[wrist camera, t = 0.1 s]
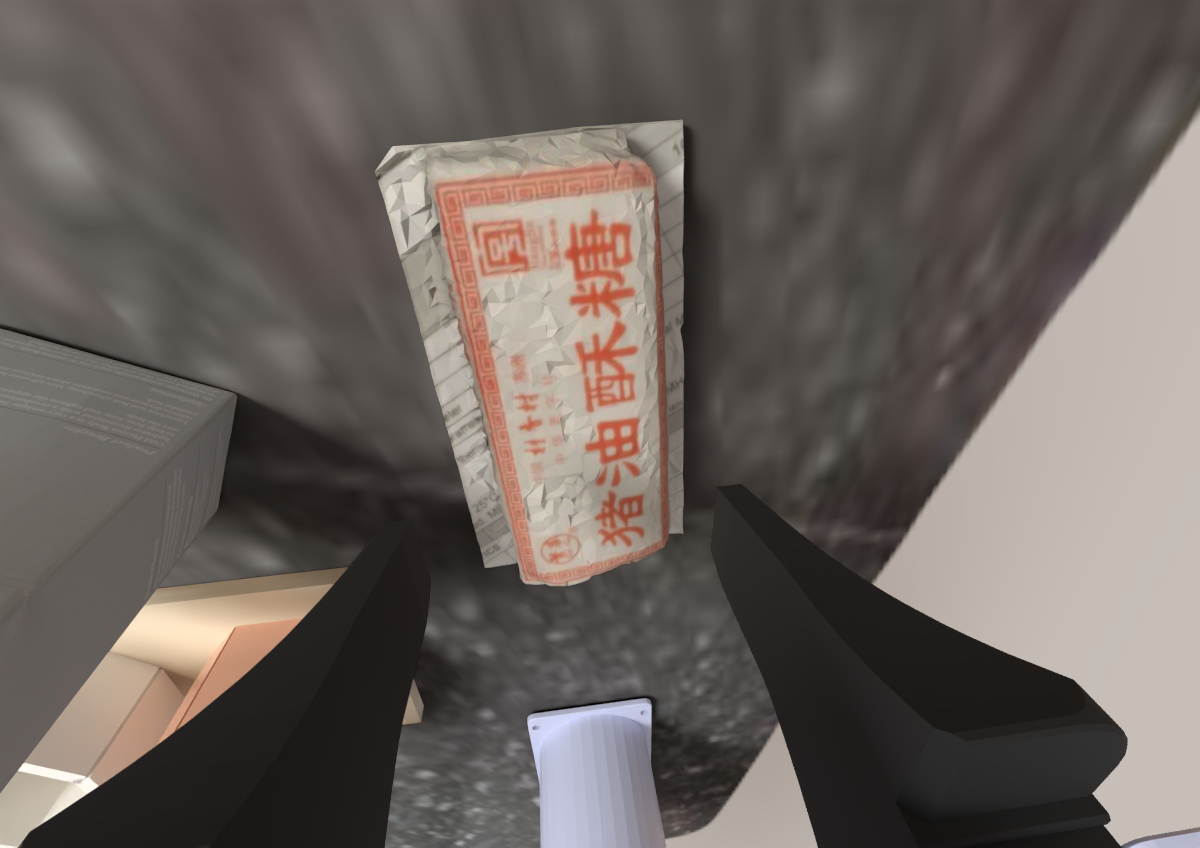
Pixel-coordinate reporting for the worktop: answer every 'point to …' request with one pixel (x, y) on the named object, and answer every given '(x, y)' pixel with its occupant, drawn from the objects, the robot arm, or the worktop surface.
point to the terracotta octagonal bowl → (229, 666)
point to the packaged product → (553, 334)
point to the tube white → (89, 742)
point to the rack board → (223, 621)
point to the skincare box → (90, 514)
